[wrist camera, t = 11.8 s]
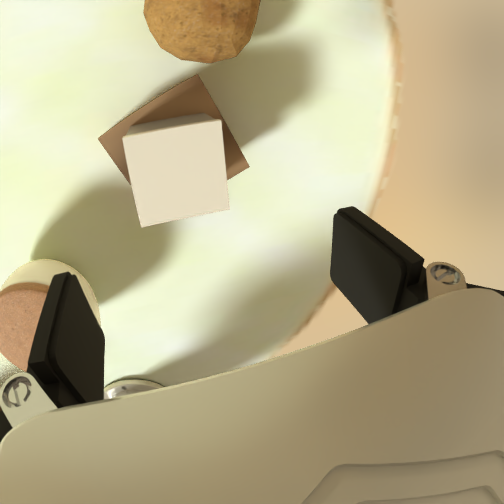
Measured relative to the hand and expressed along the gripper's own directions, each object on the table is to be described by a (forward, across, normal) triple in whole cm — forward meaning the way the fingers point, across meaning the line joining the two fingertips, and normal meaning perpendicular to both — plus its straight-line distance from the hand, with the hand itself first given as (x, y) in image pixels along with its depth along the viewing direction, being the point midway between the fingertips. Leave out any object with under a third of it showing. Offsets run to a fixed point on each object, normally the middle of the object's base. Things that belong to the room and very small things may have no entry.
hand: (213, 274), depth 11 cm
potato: (+22, -4, -15) cm, 27 cm away
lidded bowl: (+23, +17, +12) cm, 31 cm away
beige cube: (+17, 0, 0) cm, 17 cm away
